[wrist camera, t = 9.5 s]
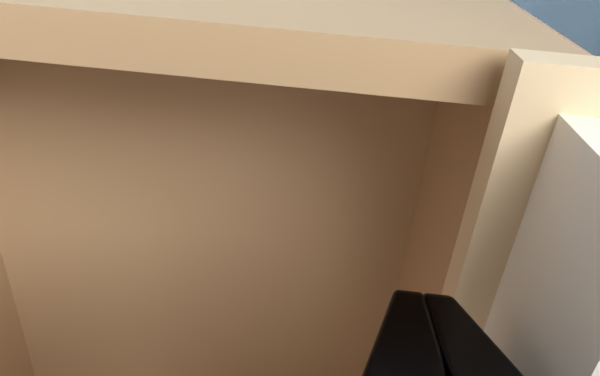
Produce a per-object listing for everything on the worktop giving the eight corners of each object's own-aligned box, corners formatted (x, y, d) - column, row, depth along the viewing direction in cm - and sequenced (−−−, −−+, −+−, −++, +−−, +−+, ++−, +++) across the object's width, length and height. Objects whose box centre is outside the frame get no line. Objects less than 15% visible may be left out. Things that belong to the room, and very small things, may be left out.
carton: (489, -13, 12) (598, 59, 7) (383, 422, 20) (396, 607, 15) (-92, -66, 12) (-403, -36, 7) (32, 380, 20) (-76, 546, 15)
